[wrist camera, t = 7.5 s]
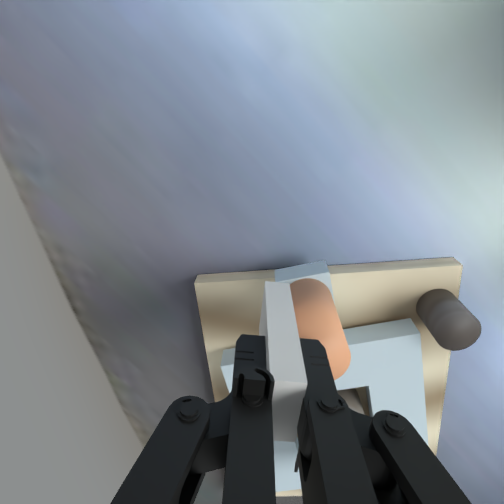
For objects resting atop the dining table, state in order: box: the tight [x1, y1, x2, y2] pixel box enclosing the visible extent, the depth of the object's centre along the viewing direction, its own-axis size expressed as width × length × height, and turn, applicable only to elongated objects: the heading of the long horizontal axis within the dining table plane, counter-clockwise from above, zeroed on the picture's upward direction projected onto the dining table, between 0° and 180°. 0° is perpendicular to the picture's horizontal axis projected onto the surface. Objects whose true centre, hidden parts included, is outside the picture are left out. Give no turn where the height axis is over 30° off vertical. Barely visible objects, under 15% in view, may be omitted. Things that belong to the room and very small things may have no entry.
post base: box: [194, 257, 481, 496], centre depth 24 cm, size 20×16×7 cm
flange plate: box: [220, 260, 428, 492], centre depth 21 cm, size 17×12×7 cm
